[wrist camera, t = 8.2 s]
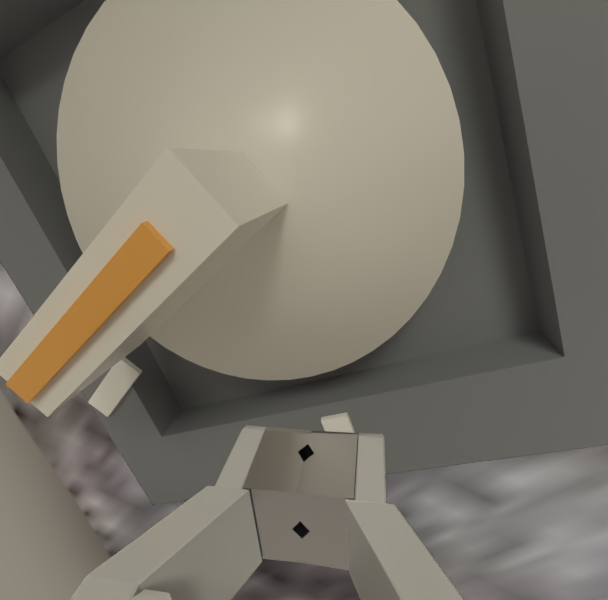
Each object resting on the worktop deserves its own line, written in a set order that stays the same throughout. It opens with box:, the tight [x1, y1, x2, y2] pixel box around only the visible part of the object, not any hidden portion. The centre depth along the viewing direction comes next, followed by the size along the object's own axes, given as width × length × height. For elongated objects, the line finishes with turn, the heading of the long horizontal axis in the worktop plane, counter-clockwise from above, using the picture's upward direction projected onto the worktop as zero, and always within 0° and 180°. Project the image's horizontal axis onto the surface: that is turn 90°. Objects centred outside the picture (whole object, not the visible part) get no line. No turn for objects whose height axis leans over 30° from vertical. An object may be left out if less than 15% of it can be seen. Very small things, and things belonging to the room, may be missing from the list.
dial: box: [0, 0, 464, 417], centre depth 10 cm, size 12×12×6 cm
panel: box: [0, 0, 608, 505], centre depth 12 cm, size 22×20×3 cm
